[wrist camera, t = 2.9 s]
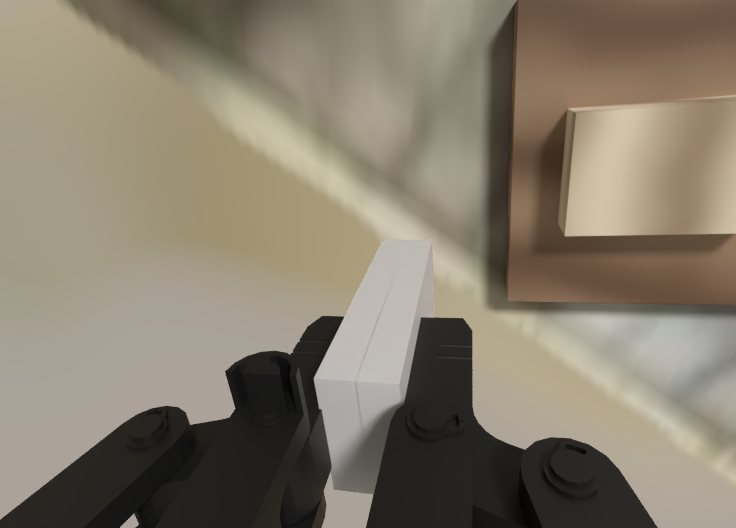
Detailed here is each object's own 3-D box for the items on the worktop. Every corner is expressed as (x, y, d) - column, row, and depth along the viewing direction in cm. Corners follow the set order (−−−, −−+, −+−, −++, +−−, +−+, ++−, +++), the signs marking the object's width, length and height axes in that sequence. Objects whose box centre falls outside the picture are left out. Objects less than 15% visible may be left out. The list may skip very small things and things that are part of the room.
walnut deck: (514, 3, 22) (518, -2, 20) (1049, -70, 17) (1116, -85, 15) (505, 285, 28) (507, 301, 27) (889, 289, 24) (922, 308, 22)
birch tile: (557, 223, 24) (564, 236, 22) (567, 108, 21) (576, 113, 20) (750, 218, 22) (774, 233, 20) (785, 91, 19) (816, 94, 18)
